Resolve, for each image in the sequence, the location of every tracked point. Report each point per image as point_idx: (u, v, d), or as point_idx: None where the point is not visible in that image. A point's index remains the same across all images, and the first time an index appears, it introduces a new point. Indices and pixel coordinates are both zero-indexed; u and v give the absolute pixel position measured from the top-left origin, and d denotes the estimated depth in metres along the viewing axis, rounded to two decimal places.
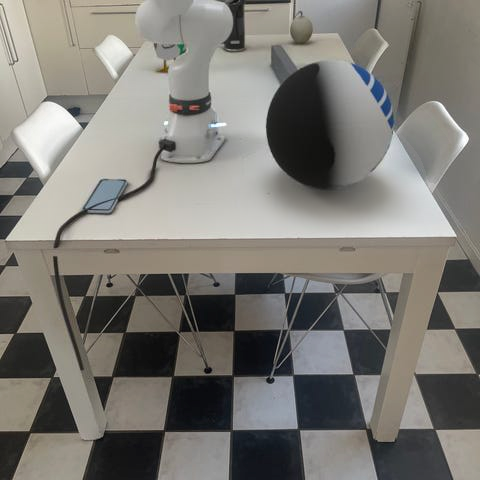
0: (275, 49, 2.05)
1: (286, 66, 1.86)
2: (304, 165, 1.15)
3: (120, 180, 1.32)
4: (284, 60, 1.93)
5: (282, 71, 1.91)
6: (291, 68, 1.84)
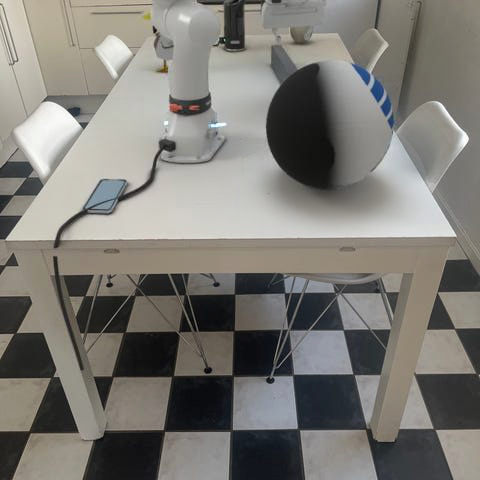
0: (275, 49, 2.05)
1: (286, 66, 1.86)
2: (304, 165, 1.15)
3: (120, 180, 1.32)
4: (284, 60, 1.93)
5: (282, 71, 1.91)
6: (291, 68, 1.84)
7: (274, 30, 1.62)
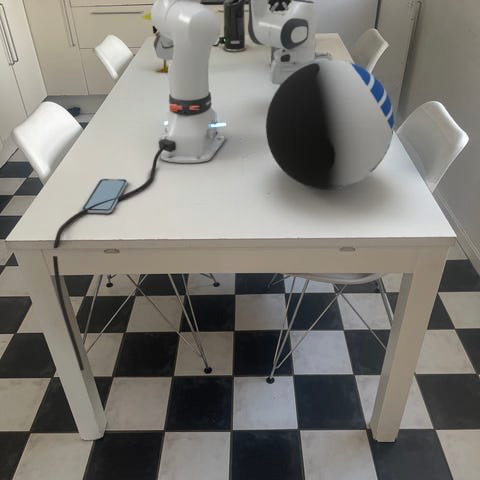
0: (275, 49, 2.05)
1: None
2: (304, 165, 1.15)
3: (120, 180, 1.32)
4: None
5: None
6: None
7: None
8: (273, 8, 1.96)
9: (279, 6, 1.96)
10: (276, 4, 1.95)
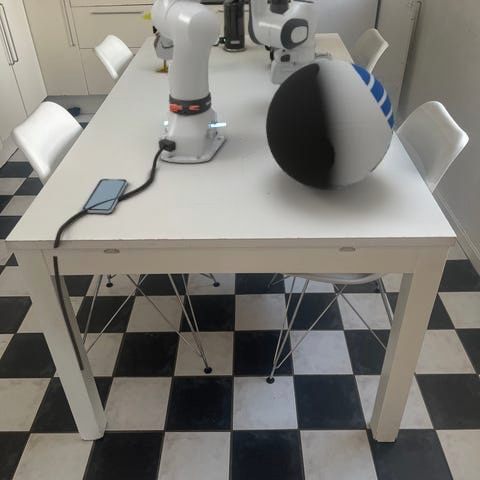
0: (275, 49, 2.05)
1: None
2: (304, 165, 1.15)
3: (120, 180, 1.32)
4: None
5: None
6: None
7: None
8: None
9: None
10: None
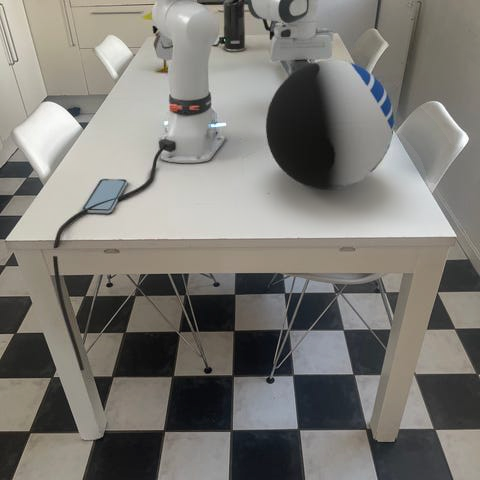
0: None
1: None
2: (304, 165, 1.15)
3: (120, 180, 1.32)
4: None
5: None
6: None
7: (288, 62, 1.67)
8: (274, 21, 1.98)
9: None
10: None
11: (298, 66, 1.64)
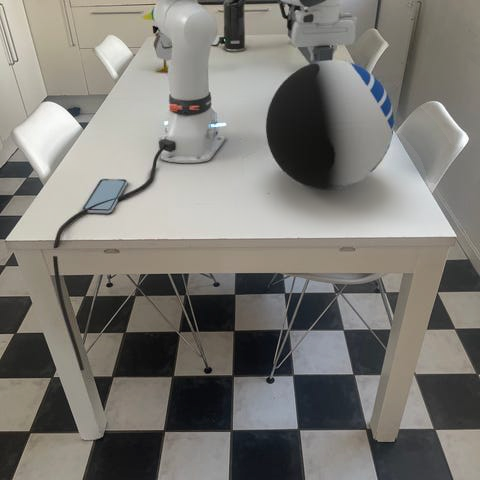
0: (293, 17, 1.97)
1: None
2: (304, 165, 1.15)
3: (120, 180, 1.32)
4: None
5: None
6: None
7: (310, 48, 1.64)
8: (292, 8, 1.95)
9: (296, 5, 1.95)
10: None
11: (321, 52, 1.60)
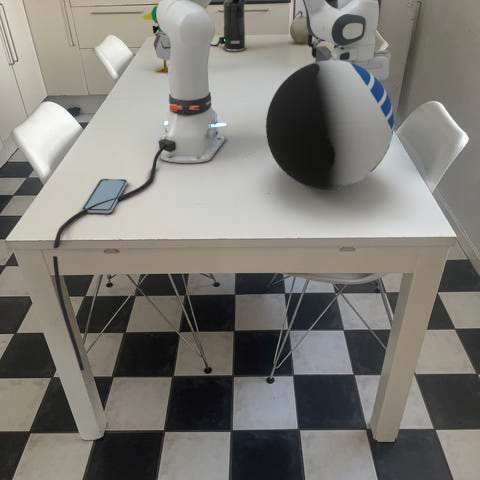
0: (321, 50, 2.02)
1: None
2: (304, 165, 1.15)
3: (120, 180, 1.32)
4: None
5: None
6: None
7: None
8: None
9: None
10: None
11: None
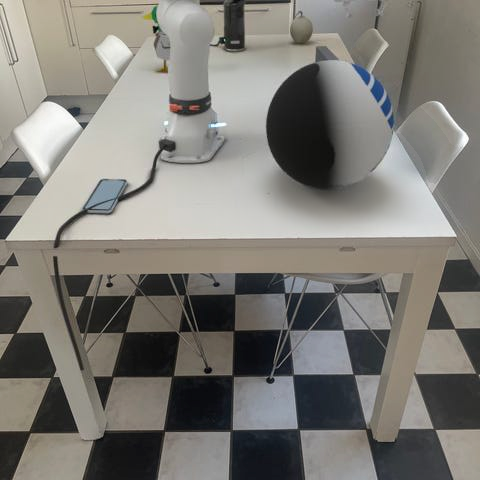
0: (321, 50, 2.02)
1: None
2: (304, 165, 1.15)
3: (120, 180, 1.32)
4: None
5: None
6: None
7: (346, 3, 1.54)
8: None
9: None
10: None
11: None
